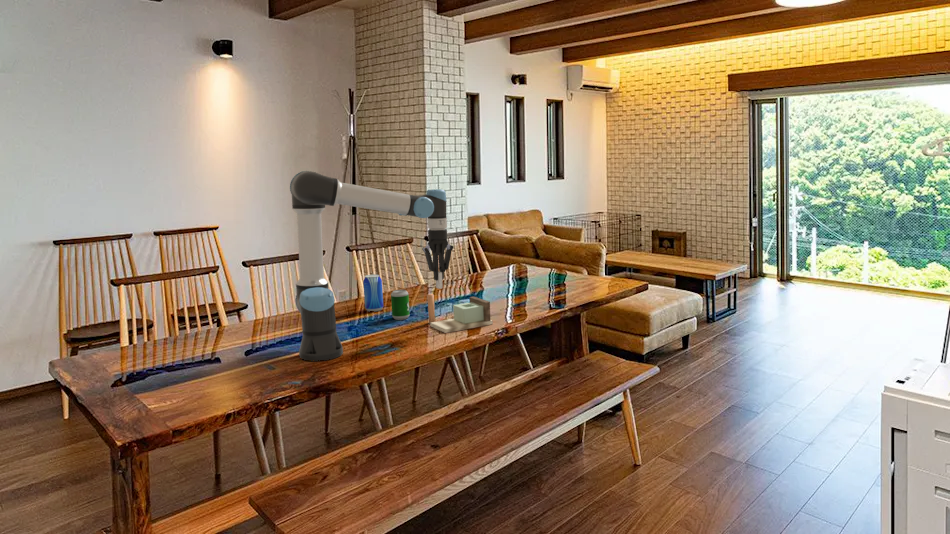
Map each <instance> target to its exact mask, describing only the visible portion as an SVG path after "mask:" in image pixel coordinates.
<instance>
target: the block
mask: <svg viewBox="0 0 950 534" xmlns="http://www.w3.org/2000/svg"><path fill="white" fill-rule="evenodd" d="M452 309H453V319H454V320H457V321H459V322H462V323H464V324H466V323H472V322H477V321H483V320H484V312H483V306H482V305H479V304H476V303H473V302H470V301H469V302H465V303H460V304H459V303H458V304H454V305H453V308H452Z"/></svg>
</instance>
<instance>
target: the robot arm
mask: <svg viewBox="0 0 950 534" xmlns="http://www.w3.org/2000/svg"><path fill="white" fill-rule="evenodd" d="M289 191H290V194H291V202H292V203H291V205H292V206H291V207H292V210H293V211H294V212H295V213H296V217H297V218H296V219H297V220H296V221H297V222H296V223H297V241H298V242H297V243H298V260H299V261H298V263H299V265H298V267H299V279H298V280H297V281H296V282H295V288H296V289H295V290H296V295H295V301H294V302H295V306H296V309H297V311H299V313H300V318H301V329H302V338H301V341H300V347H299V350H298V353H299V354H298V355H299V356H300V357H299V359H300V358H302V359H304V360H303V361H305V360H311V361H310V362H321V361H320V360H324V361H327V360H328V361H329V359H330V360H333V359H336V358H339V357H340V356H342V355H343V354H344V347H343V345H342V342H341V339H340V338H339V335H338V333H337V322H336V321H337V320H336V311H335V301H336V300H335V295H334V292H333V291H332V289H330V288H329V280H327V279H326V278H325V273H324V272H325V271H324V270H325V269H324V252H323V251H324V249H323V247H324V246H323V222H322V213H323V211H325V210H326V206H332V207H335V206H336V205H342V206H349V207H355V208H360V209H361V208H362V209H367V210H372V211H379V212H386V213H392V214H397V215H399V216H405V217H406V216H410V217H415V218H420V219H427V228H428V230H427V238H428V239H427V241H428V242H427V245H426V246H425V247H422V251H423V253H424V255H425V259H426V262H427V267H428V270H429V272H433V280H434V281H435V287H436V289H439V290H441V289H443V280H445V272H446V271H447V270H449V266H450V261H451V255H452V252H453V249H454V245H452V244H450V243H449V240H448V229H447V228H448V220H447V219H448V218H447V216H448V215H447V194H446V190H445V189H442V188H440V189H439V188H438V189H437V188H435V189H432V188H431V189H427V190H426V193H425V194H423V195H421V194H420V195H418V194H417V195H416V194H414V195H413V194H408V193H404V192H403V193H402V192H397V191H390V190H386V189H382V188H381V189H380V188H376V187H375V188H373V187H369V186H363V185H356V184H353V183H352V184H351V183H346V182H341V181H340V180H339V179H338V178H334V177H331V176H330V177H329V176H326V175H323V174H321V173H320V172H319V173H318V172H316V171H312V170H304V171H299V172H298V173H296V174H295V175H294V176H293V177H292V179H291V181H290V183H289ZM302 359H301V360H302ZM313 360H314V361H313ZM318 360H319V361H318Z"/></svg>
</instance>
